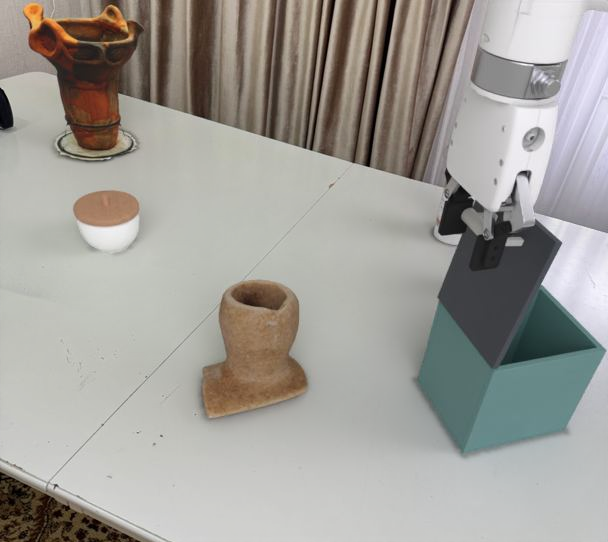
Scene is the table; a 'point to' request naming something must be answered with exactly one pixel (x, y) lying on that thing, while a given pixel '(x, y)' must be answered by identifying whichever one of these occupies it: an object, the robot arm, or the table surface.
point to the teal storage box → (510, 377)
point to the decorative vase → (87, 76)
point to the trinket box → (108, 219)
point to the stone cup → (255, 350)
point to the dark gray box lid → (496, 284)
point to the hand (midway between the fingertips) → (466, 248)
